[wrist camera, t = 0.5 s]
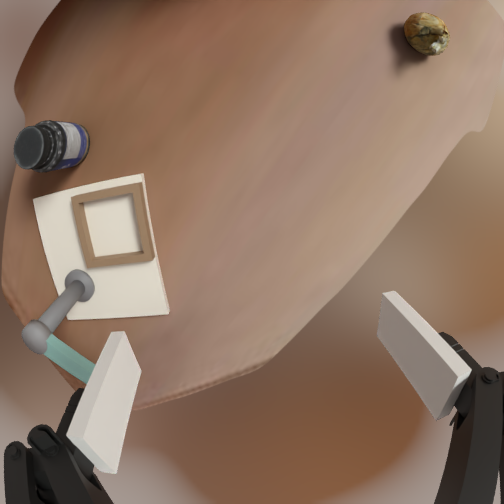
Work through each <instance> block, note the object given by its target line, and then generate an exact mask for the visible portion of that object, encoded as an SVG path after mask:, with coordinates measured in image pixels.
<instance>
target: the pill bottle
mask: <svg viewBox="0 0 504 504" xmlns="http://www.w3.org/2000/svg"><path fill="white" fill-rule="evenodd" d="M89 146H90V138H89V134H88V132H87V130H86V129H85V128H84V127H83V126H81V125H79V124H76V123H70V122H59V121H50V120H49V121H42V122H39V123H38V124H36V125H35V126H29V127H26V128H24V129H23V130H22V131H21V132H20V133H19V135H18V136H17V138H16V141H15V145H14V157H15V160H16V162H17V164H18V165H19V166H20V167H21V168H23V169H32V170H34V171H36V172H48V171H53V170H58V169H63V168H68V167H73V166H76V165H78V164H79V163H80V162H81V161H83V160H84V159H85V157H86V156H87V154H88V151H89Z"/></svg>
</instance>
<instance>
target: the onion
mask: <svg viewBox="0 0 504 504" xmlns="http://www.w3.org/2000/svg"><path fill="white" fill-rule="evenodd" d="M404 31H405V36H406V38H407V41H408V42H409V43H410V45H411V46H412V47H413V48H414V49H416V50H417V51H419V52H420V53H422V54H425V55H431V56H434V55H439V54H440V53H442V52H443V51H444V50H445V49H446V47H447V46H448V42H449V38H450V35H449V32H448V29H447V27H446V25H445V23H444V22H443V21H442V20H441V19H439V18H438V17H436V16H434V15H432V14H429V13H416V14H413V15H411V16H410V17H409V18H408V19H407V20H406V22H405V25H404Z"/></svg>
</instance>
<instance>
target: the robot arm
mask: <svg viewBox="0 0 504 504" xmlns="http://www.w3.org/2000/svg"><path fill="white" fill-rule="evenodd" d="M377 337H378V338H379V339H380V341H381V342H382V343H383V345H384V346H385V348H386V349H387V350H388V352H389V353H390V354H391V356H392V357H393V359H394V360H395V361H396V363H397V364H398V366H399V367H400V368H401V370H402V371H403V373H404V374H405V376H406V377H407V378H408V380H409V381H410V383H411V384H412V386H413V387H414V389H415V390H416V392H417V393H418V394H419V396H420V397H421V399H422V400H423V402H424V403H425V405H426V406H427V408H428V409H429V411H430V412H431V414H432V415H433V417H434V418H435V420H436V421H437V420H439V419H441V418H443V417H445V416H447V415H449V414H450V412H451V410H452V408H453V406H455V407H456V408H457V412H456V414H455V416H454V417H453V419H452V421H451V422H450V426H451V425H452V424H453V422H454V427H453V432H452V438H451V443H450V448H449V452H448V457H447V461H446V465H445V469H444V473H443V476H442V480H441V483H440V487H439V490H438V493H437V496H436V499H435V502H434V504H493V500H494V495H495V489H496V484H497V478H498V471H499V474H500V489H501V490H500V491H501V504H504V372H498V371H496V370H495V369H493V368H490V367H484V368H482V367H481V366H480V365H479V364H478V363H477V362H476V361H475V360H474V359H473V358H472V357H471V356H470V355H469V354H468V352H467V351H465V350H463V348H462V346H461V345H460V344H458V342H457V341H456V340H455V339H454V338H453V337H452V336H450V335H448V334H446V333H444V332H441V333H437V332H436V331H435V330H434V329H433V328H432V327H431V326H430V325H429V324H428V323H427V322H426V321H425V320H424V319H423V318H422V317H421V316H420V315H419V314H418V313H417V312H416V311H415V310H414V309H413V308H412V307H411V306H410V305H409V304H408V303H407V302H406V301H405V300H404V299H403V298H402V297H401V296H400V295H399V294H397V292H395V291H391V292H386V293H383V294H382V301H381V309H380V317H379V324H378V331H377ZM140 375H141V369H140V367H139V365H138V362H137V360H136V358H135V355H134V353H133V351H132V348H131V346H130V344H129V341H128V339H127V336H126V334H125V331H120V332H111V334H110V336H109V338H108V340H107V342H106V344H105V346H104V348H103V350H102V352H101V355H100V357H99V359H98V361H97V363H96V365H95V367H94V370H93V372H92V374H91V376H90V378H89V381H88V383H87V385H86V388H85V389H84V388H79V389H78V390H77V391H76V392H75V393H74V394H73V395H72V397H71V399H70V401H69V403H68V406H67V408H66V410H65V413H64V415H63V417H62V419H61V422H60V424H59V427H58V429H57V432H56V433H55V432H54V431H53V430H52V428H51V427H49V426H48V425H42V424H41V425H38V426H36V427H34V428H33V429H32V430H31V431H30V432H29V435H28V437H27V440H28V444H29V445H30V446H31V447H32V448H26V447H25V446H24V445H23V444H22V443H21V442H19V441H14V442H12V443H10V444H9V445H8V446H7V447H6V449H5V453H4V481H5V482H4V483H5V498H6V504H114V503H113V502H112V500H111V499H110V497H109V496H108V494H107V493H106V491H105V490H104V488H103V486H102V485H101V483H100V481H99V480H98V478H97V476H96V475H95V474H94V473H93V468H94V466H96V467H97V468H98V469H99V470H100V471H101V472H106V473H113V474H117V469H118V464H119V460H120V455H121V450H122V446H123V441H124V437H125V433H126V428H127V424H128V420H129V416H130V411H131V408H132V404H133V400H134V397H135V393H136V389H137V385H138V382H139V378H140Z"/></svg>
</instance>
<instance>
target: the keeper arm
mask: <svg viewBox="0 0 504 504" xmlns="http://www.w3.org/2000/svg"><path fill="white" fill-rule="evenodd" d="M22 338H23V341H24V342H25V344H26V345H27V347H28V348H29V349H30V350H31V351H33V352H35V353H37V354H44V355H45V356H47V357H48V358H49V359H51V360H52V361H53V362H55V363H56V364H58V365H59V366H60V367H62V368H63V369H65V370H66V371H67V372H69V373H70V374H72V375H73V376H75V377H76V378H78V379H79V380H81V381H83V382H84V383H86V384H87V383H88V381H89V378H90V376H91V374H92V372H93V370H94V367H95V364H94V363H92V362H90V361H89V360H87V359H86V358H85V357H83V356H82V355H80V354H79V353H77V352H76V351H74V350H73V349H72V348H70V347H69V346H67V345H66V344H65V343H63V342H62V341H61V340H59V339H58V338H57V337H55V336H54V335H53V334H51V332H50V330H49V328H48V327H47V326H46V325H45V324H44V323H43V322H41V321H39V320H35V319H34V320H31V321H30V322H29V323H28V324H27V326H26V327H25V328H24V329H23V330H22Z"/></svg>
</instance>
